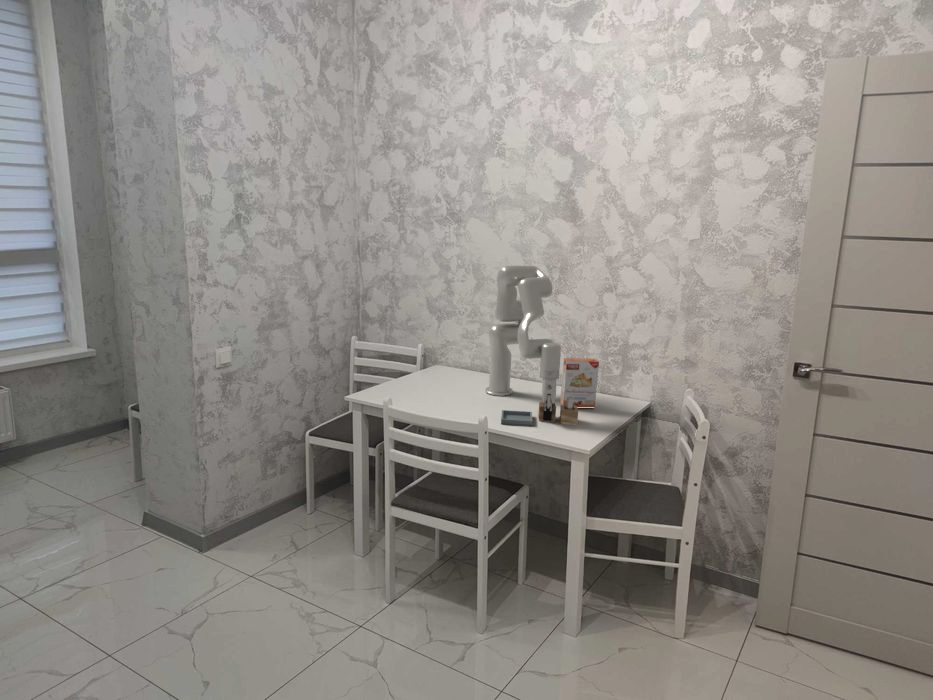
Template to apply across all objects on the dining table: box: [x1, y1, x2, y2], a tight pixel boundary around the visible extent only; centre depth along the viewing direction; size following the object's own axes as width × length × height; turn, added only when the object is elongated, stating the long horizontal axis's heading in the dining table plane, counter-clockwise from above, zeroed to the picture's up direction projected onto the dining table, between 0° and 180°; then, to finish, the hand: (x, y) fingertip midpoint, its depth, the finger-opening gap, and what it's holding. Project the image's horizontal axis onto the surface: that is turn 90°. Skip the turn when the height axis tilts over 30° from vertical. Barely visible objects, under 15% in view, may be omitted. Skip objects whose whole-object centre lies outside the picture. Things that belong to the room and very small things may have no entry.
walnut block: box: [538, 401, 557, 423], centre depth 255 cm, size 6×6×6 cm
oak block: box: [559, 405, 579, 425], centre depth 253 cm, size 6×6×6 cm
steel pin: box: [566, 397, 573, 409], centre depth 252 cm, size 2×2×9 cm
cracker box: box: [560, 357, 600, 408], centre depth 271 cm, size 14×6×21 cm, turn 95°
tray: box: [500, 409, 533, 427], centre depth 253 cm, size 12×12×2 cm
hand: (546, 417), depth 256 cm, fingers closed on walnut block, 6 cm apart
